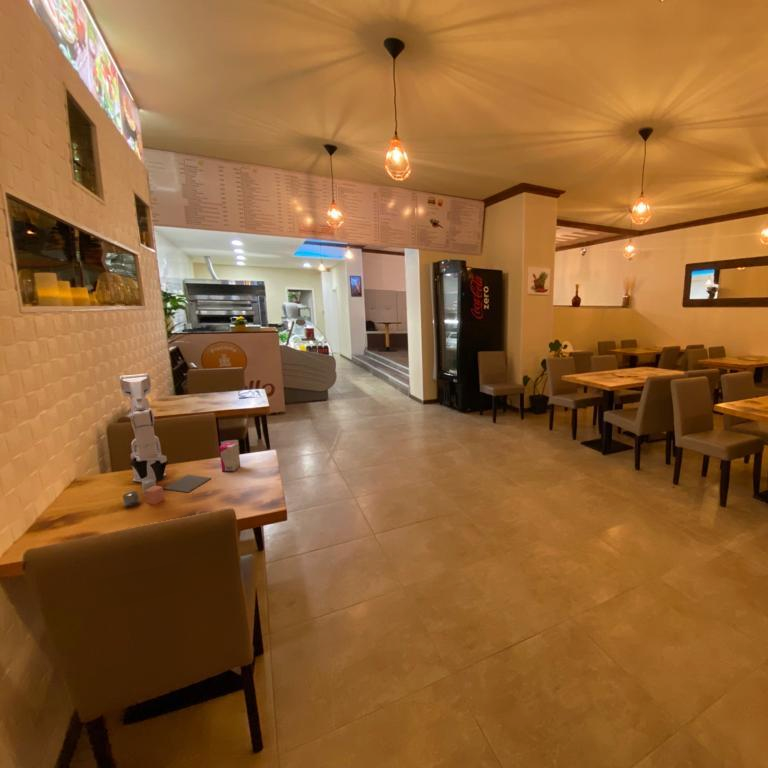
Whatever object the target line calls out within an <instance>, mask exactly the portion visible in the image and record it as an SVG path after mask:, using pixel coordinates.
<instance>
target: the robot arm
mask: <svg viewBox="0 0 768 768" xmlns="http://www.w3.org/2000/svg"><path fill="white" fill-rule="evenodd" d="M119 383H120V389H121V392H122V394H123V396H124V397H129V398H130V401H129V406H130V415H129V418H130V422H131V427H132V429H133V433H134V437H135V438H134V439H132V441H131V444H130V445H131V453H130V454H129V455H130V460H132V461H130V463H129V464H130V465H131V467H132V471H133V477H134V478H133V479H132V481H133V482H139V483H142V482H143V481H145V480H147V479H155V481H156V482H160V481H162V480H164V477H166V476H167V473H165V470H166V468H167V467H166V466H167V465H168V463H169V460H168V458H167V455H164V454H162V447H161V441H160V439H159V437H158V436H157V435H155V430H154V425H155V420H154V419H155V418H154V413H153V410H152V408H151V406H150V402H149V399H148V398H147V397H146V395H148V394H150V393H151V391H152V383H151V377H150V373H147V372H146V373H139V374H138V373H137V374H130V375H129V374H128V375H120V376H119Z"/></svg>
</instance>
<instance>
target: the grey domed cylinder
mask: <svg viewBox="0 0 768 768" xmlns="http://www.w3.org/2000/svg"><path fill="white" fill-rule="evenodd" d="M156 482H157V480H156V481H155V479H147V480H145V481H143V482H141V486H142V487H141V488H142V493H143V496H144V497H145V490H147V489H149V488H151V487H152V486H157V483H156Z"/></svg>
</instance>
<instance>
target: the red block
mask: <svg viewBox="0 0 768 768" xmlns="http://www.w3.org/2000/svg"><path fill="white" fill-rule="evenodd" d="M163 488H164V487H163V486H159V485H156V486H152V487H151V488H149V489H147V490H145V496H144V497H145V501H146V502H145V503H146V504H149V505H158V503H160V502H162V501H164V500H165V493H164V489H163Z"/></svg>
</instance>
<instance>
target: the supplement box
mask: <svg viewBox="0 0 768 768" xmlns="http://www.w3.org/2000/svg"><path fill="white" fill-rule="evenodd" d="M218 448H219V457H220V463H221V464H220V465H221V466H220V467H221V472H222V473H235V472H236V471H237V470H238V469H239V468H241V460H240V459H241V458H240V450H239V443H238V442H225V443H224V444H222V445H220V446H219V447H218Z"/></svg>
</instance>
